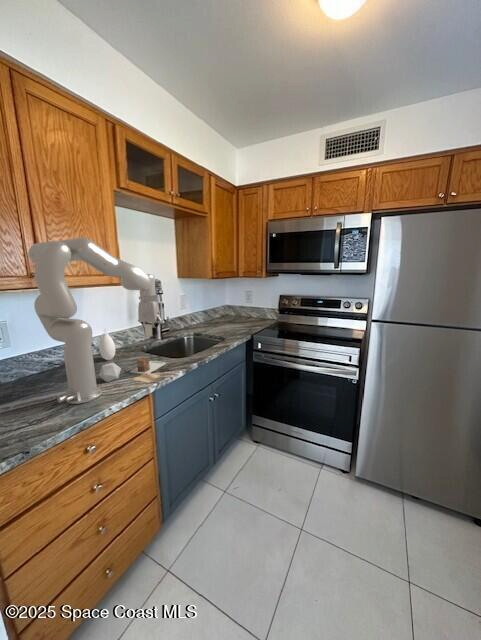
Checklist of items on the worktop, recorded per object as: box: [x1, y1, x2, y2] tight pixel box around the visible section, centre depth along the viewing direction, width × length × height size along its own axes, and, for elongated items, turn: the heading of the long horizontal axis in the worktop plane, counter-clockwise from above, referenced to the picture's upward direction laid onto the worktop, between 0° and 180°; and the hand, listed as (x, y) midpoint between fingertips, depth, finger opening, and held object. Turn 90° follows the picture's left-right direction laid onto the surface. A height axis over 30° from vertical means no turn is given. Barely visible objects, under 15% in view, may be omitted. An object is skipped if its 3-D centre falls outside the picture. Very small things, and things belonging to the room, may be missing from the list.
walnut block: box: [136, 356, 150, 372], centre depth 131 cm, size 4×4×6 cm
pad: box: [131, 372, 161, 384], centre depth 123 cm, size 9×9×1 cm
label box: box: [144, 322, 154, 337], centre depth 135 cm, size 4×4×6 cm
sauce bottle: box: [98, 329, 116, 361], centre depth 148 cm, size 8×8×18 cm
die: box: [98, 362, 122, 383], centre depth 121 cm, size 8×9×10 cm
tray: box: [129, 360, 167, 375], centre depth 135 cm, size 16×10×1 cm, turn 162°
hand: (151, 334), depth 136 cm, fingers closed on label box, 4 cm apart
